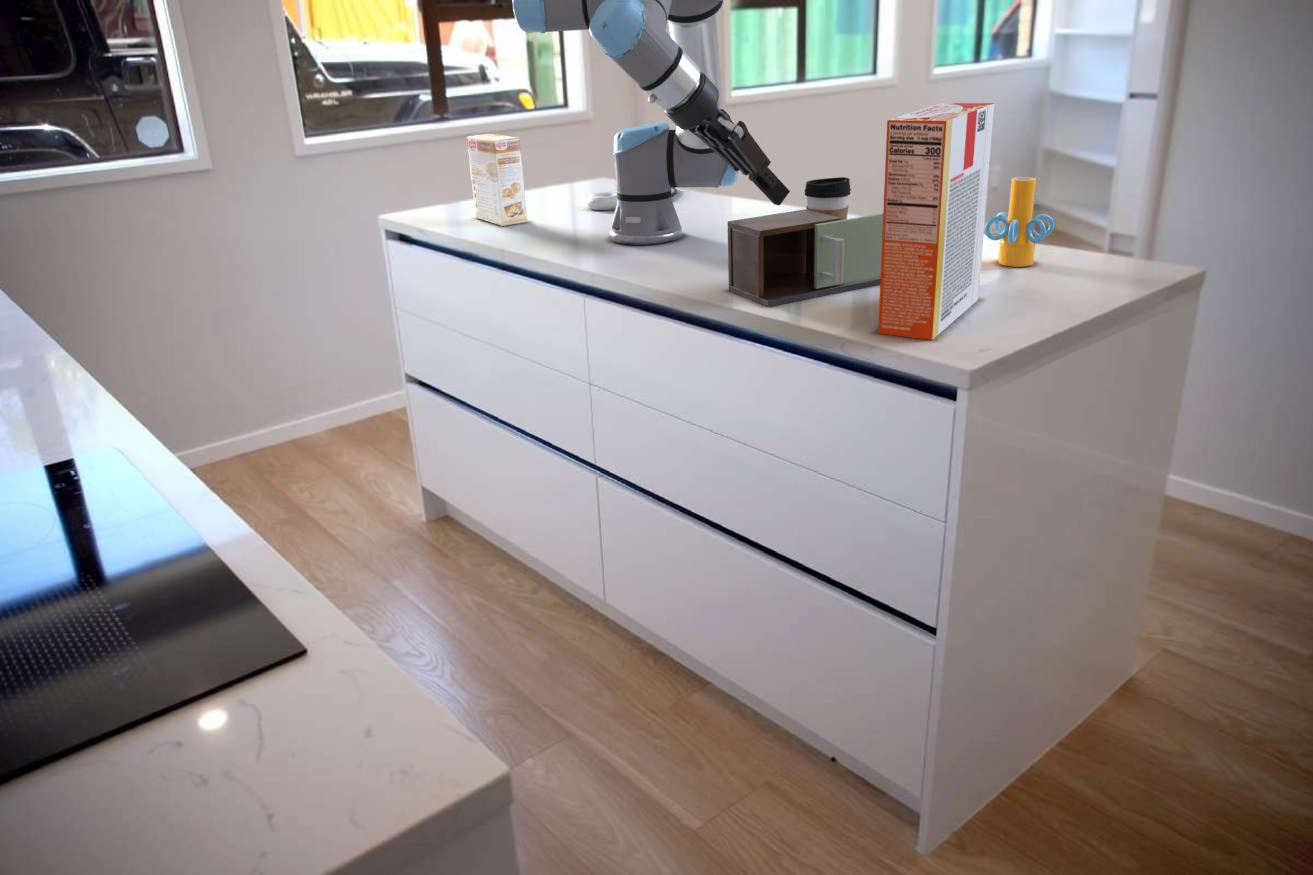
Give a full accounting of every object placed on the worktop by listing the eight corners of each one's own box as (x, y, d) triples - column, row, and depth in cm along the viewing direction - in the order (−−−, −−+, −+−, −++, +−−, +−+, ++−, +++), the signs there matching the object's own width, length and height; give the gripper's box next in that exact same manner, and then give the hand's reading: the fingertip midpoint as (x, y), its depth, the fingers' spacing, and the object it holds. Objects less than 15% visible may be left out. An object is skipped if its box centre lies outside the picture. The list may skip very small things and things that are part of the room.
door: (813, 288, 166) (814, 224, 162) (887, 273, 172) (890, 212, 168) (834, 295, 161) (835, 229, 157) (909, 280, 168) (912, 217, 164)
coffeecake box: (528, 222, 237) (520, 137, 229) (501, 226, 233) (492, 140, 225) (501, 214, 248) (492, 132, 240) (474, 218, 245) (465, 136, 237)
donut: (585, 213, 245) (626, 210, 245) (584, 198, 244) (625, 196, 243) (588, 205, 254) (627, 203, 254) (587, 191, 253) (626, 189, 252)
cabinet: (728, 291, 171) (727, 221, 167) (854, 267, 183) (856, 201, 178) (767, 306, 161) (767, 233, 157) (898, 280, 173) (902, 211, 168)
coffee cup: (848, 265, 184) (850, 182, 178) (802, 265, 186) (803, 183, 180) (849, 254, 192) (851, 175, 186) (805, 255, 193) (806, 176, 187)
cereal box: (928, 294, 164) (940, 103, 152) (978, 299, 160) (994, 103, 148) (878, 333, 146) (887, 120, 134) (932, 340, 142) (946, 121, 130)
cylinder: (1037, 274, 172) (1047, 186, 166) (977, 268, 178) (984, 183, 172) (1053, 258, 182) (1063, 174, 176) (995, 253, 187) (1002, 172, 181)
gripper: (644, 110, 143) (744, 211, 156) (689, 116, 132) (792, 224, 146) (675, 68, 143) (772, 173, 157) (722, 71, 132) (822, 183, 146)
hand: (781, 197), depth 151 cm, fingers closed
